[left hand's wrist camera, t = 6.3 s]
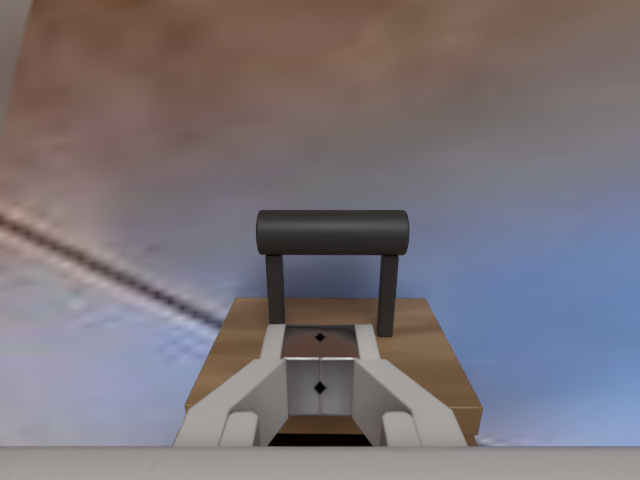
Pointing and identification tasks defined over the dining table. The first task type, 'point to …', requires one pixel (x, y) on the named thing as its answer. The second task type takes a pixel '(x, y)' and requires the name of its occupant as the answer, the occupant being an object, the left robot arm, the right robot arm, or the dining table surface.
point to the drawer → (340, 318)
